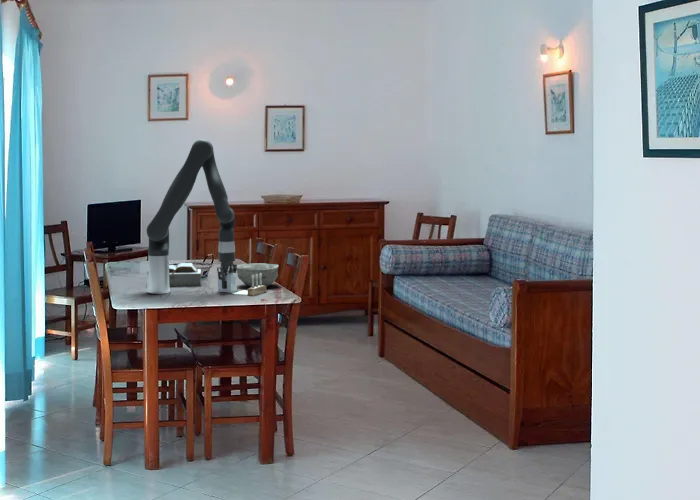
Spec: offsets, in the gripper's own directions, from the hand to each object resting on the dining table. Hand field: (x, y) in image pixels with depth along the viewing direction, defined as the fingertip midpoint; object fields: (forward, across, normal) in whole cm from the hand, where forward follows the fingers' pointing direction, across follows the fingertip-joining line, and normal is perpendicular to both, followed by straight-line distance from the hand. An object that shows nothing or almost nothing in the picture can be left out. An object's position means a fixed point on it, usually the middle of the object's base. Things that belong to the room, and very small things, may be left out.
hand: (227, 287), depth 416 cm
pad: (+2, 0, +10) cm, 10 cm away
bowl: (+2, -20, +5) cm, 20 cm away
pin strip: (+2, 0, +16) cm, 16 cm away
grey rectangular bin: (+3, -12, -36) cm, 38 cm away
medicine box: (+2, 0, 0) cm, 2 cm away
